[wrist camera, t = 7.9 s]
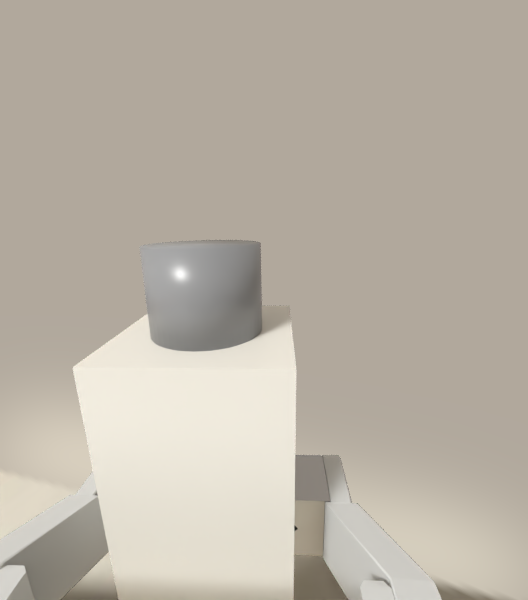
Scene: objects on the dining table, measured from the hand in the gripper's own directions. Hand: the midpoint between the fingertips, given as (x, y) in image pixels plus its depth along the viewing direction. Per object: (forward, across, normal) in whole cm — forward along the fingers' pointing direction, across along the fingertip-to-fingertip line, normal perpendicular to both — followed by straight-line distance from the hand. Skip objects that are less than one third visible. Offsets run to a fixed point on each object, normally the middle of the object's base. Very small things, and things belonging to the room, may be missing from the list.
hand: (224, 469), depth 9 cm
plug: (-1, 0, +8) cm, 8 cm away
